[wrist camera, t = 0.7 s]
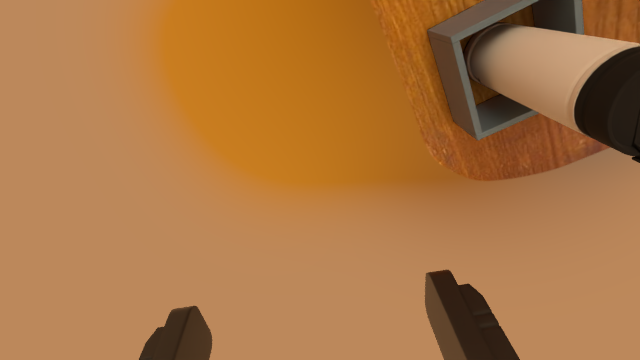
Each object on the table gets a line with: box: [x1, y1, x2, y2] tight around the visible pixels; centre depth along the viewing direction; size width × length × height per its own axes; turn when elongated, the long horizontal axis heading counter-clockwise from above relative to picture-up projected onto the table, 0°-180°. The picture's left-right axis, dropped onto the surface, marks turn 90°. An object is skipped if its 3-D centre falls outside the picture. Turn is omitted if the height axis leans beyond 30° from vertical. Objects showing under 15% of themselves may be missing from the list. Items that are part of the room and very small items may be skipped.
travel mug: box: [463, 22, 640, 163], centre depth 28 cm, size 6×7×20 cm
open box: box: [427, 0, 584, 140], centre depth 34 cm, size 11×11×6 cm
